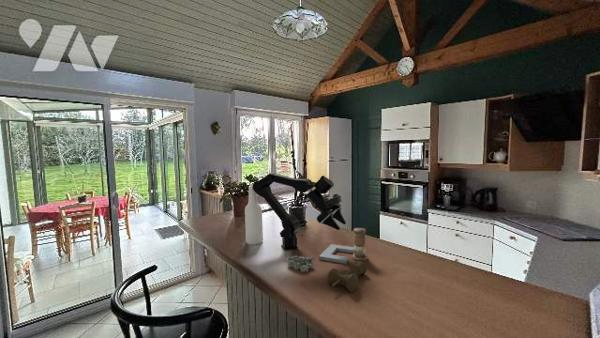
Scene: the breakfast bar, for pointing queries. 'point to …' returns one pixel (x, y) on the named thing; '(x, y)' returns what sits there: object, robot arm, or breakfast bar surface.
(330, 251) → the notched board
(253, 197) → the alcohol
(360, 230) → the bobbin
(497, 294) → the breakfast bar surface
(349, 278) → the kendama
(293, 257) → the egg carton
